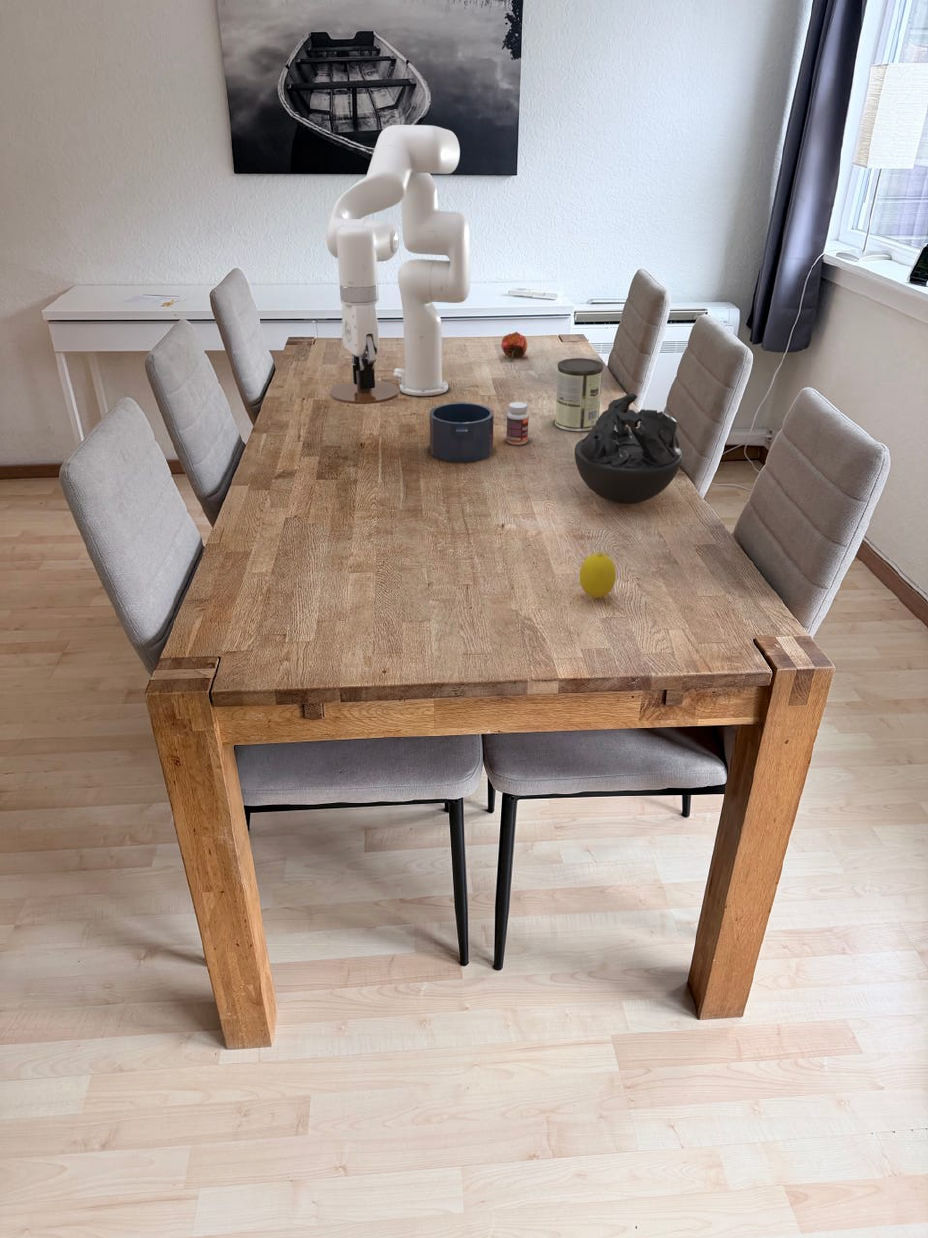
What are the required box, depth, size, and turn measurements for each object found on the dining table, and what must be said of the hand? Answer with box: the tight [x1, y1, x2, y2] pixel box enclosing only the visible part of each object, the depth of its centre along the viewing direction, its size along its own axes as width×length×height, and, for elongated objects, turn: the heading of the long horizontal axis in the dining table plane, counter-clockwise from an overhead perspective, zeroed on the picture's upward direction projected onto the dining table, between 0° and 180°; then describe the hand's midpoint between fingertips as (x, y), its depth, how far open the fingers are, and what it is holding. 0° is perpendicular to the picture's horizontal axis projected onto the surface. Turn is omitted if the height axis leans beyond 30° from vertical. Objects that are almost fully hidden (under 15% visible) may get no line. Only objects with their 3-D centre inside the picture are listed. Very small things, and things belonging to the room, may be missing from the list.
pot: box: [429, 401, 495, 463], centre depth 195 cm, size 14×19×8 cm
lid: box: [328, 369, 401, 405], centre depth 188 cm, size 15×15×5 cm
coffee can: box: [554, 357, 604, 432], centre depth 208 cm, size 10×10×14 cm
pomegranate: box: [500, 331, 528, 362], centre depth 257 cm, size 7×7×10 cm
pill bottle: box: [505, 401, 530, 446], centre depth 199 cm, size 5×5×8 cm
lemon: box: [579, 552, 617, 599], centre depth 140 cm, size 6×6×8 cm
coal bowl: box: [574, 393, 683, 505], centre depth 170 cm, size 20×20×19 cm
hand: (364, 385), depth 188 cm, fingers closed on lid, 3 cm apart
